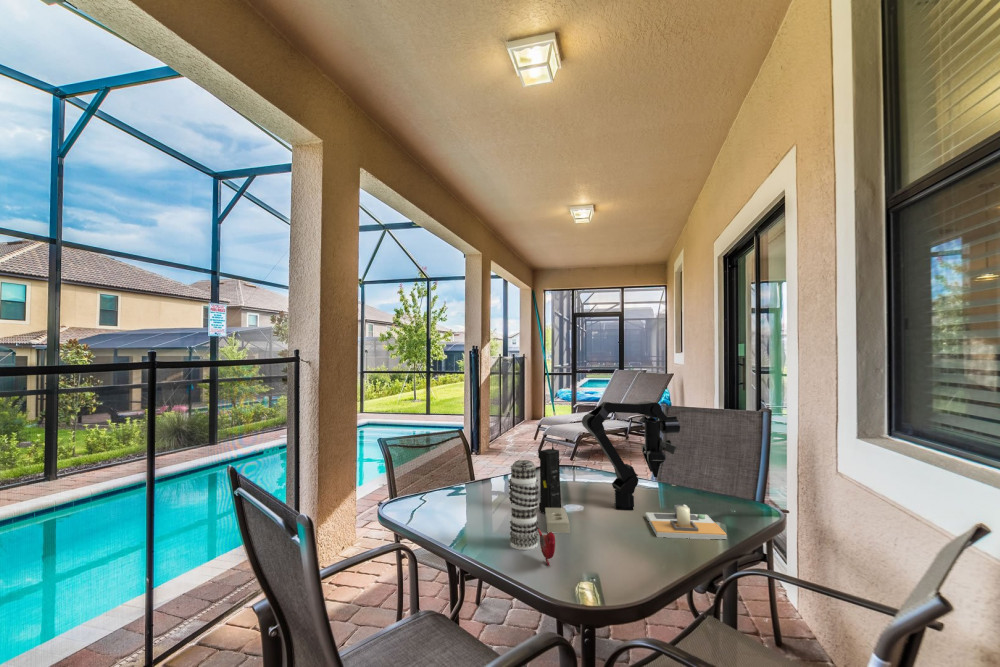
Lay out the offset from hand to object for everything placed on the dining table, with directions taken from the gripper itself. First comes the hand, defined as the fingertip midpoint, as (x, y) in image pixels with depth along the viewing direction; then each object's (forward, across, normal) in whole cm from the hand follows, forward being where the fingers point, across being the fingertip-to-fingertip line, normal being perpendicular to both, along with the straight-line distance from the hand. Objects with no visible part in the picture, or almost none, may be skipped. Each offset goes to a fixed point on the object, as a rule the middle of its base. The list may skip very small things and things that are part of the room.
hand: (653, 474), depth 179 cm
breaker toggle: (+10, -17, -6) cm, 21 cm away
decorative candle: (+12, -46, +46) cm, 66 cm away
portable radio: (+12, -13, +40) cm, 44 cm away
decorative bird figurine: (+12, -57, +38) cm, 70 cm away
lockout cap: (+10, -28, -5) cm, 30 cm away
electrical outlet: (+13, -26, +37) cm, 47 cm away
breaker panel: (+12, -23, -6) cm, 27 cm away
